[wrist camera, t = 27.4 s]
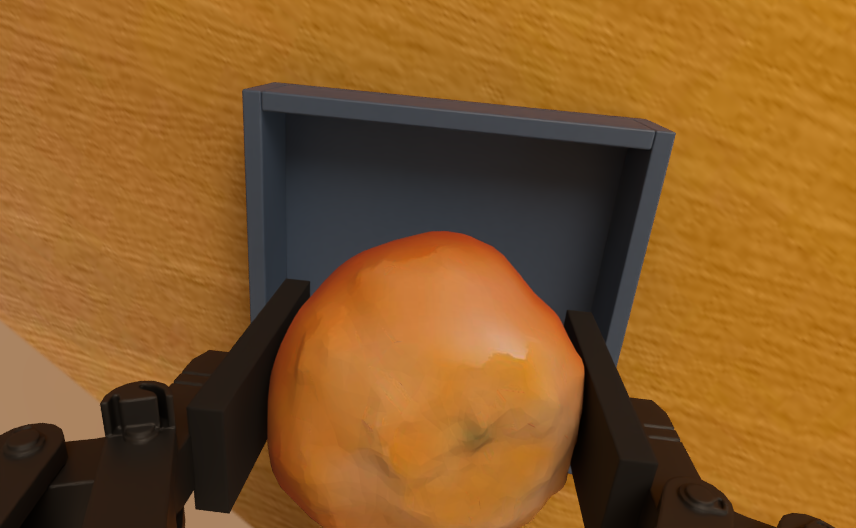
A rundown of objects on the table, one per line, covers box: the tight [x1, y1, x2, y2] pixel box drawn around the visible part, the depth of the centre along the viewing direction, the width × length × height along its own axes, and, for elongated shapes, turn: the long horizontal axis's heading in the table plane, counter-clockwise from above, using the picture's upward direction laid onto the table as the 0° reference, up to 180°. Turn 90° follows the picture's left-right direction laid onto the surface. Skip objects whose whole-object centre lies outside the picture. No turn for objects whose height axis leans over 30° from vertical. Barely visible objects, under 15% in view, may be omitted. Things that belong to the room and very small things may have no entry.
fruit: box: [267, 231, 584, 528], centre depth 15 cm, size 8×8×8 cm
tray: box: [242, 82, 676, 474], centre depth 21 cm, size 13×13×3 cm
